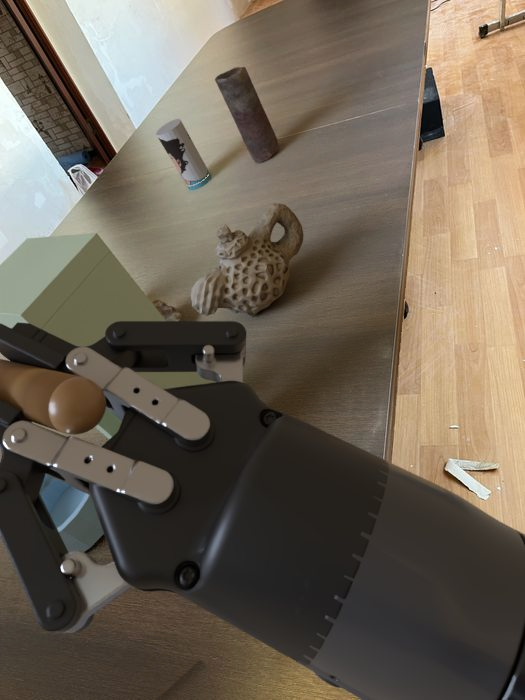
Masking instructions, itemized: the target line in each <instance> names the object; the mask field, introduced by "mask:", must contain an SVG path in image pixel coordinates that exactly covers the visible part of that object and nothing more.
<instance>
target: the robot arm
mask: <svg viewBox="0 0 525 700" xmlns="http://www.w3.org/2000/svg"><path fill="white" fill-rule="evenodd" d="M246 351H247V329H246V328H245V326H244V325H243V324H242V323H240V322H239V321H233V320H231V321H230V320H228V321H227V320H226V321H225V320H224V321H223V320H219V321H218V320H213V321H212V320H211V321H210V320H205V321H204V320H202V321H201V320H197V321H195V320H192V321H191V320H190V321H189V320H188V321H187V320H181V321H118V322H115V323H113V324H111V325H110V326H109V327H108V328H107V329H106V332H105V337H104V338H102V339H101V340H99V341H98V342H96V343H94V344H92V345H90V346H86V347H79V346H75V345H73V344H71V343H69V342H67V341H65V340H63V339H61V338H59V337H56V336H54V335H52V334H50V333H48V332H46V331H44V330H42V329H40V328H38V327H36V326H34V325H32V324H30V323H19V322H17V323H16V325H15V326H14V327H13V328H12V329H11V328H9V327H7V326H5V325H3V324H0V354H1V356H2V357H3V358H5V359H6V360H8V361H13V362H17V363H22V364H26V365H31V366H35V367H40V368H44V369H49V370H53V371H58V372H62V373H67V374H72V375H76V376H81V377H85V378H88V379H90V380H92V381H94V382H95V383H96V384H97V385H98V386H99V387H100V388H101V389H102V391H103V393H104V395H105V399H106V409H107V410H109V411H110V412H112V413H113V414H115V415H116V416H117V417H118V418H119V419H120V420H121V421H122V423H121V425H120V428H119V430H118V432H117V433H116V434H115V435H114V436H113V437H112V438H110V439H108V440H107V441H106V442H105V443H104V444H102V445H101V446H99V445H97V444H95V443H92V442H89V441H87V440H85V439H82V438H79V437H77V436H75V435H74V436H73V435H68V436H66V435H64V434H60V433H59V432H57V431H55V430H54V431H53V430H51V429H49V428H47V427H44V426H42V425H39V424H37V423H34V422H31V421H29V420H27V419H26V418H25V416H24V413H23V412H22V411H21V410H19V409H17V408H15V407H13V406H11V405H10V404H8V403H6V402H4V401H2V400H0V451H1V458H0V538H1V540H2V543H3V546H4V547H5V550H6V552H7V554H8V556H9V559H10V561H11V564H12V565H13V568H14V570H15V572H16V573H15V574H17V577H18V579H19V581H20V584H21V586H22V588H23V591H24V593H25V595H26V598H27V600H28V602H29V604H30V606H31V609H32V611H33V613H34V616H35V619H36V620H37V623H38V624H39V626H40V627H41V628H42V629H43V630H44V631H47V632H54V633H57V634H72V633H79V632H82V631H84V630H85V629H87V628H88V627H89V626H90V625H91V623H92V621H93V619H94V617H95V613H97V612H98V611H99V610H101V609H102V608H104V607H105V606H106V605H108V604H109V603H111V602H112V601H114V600H115V599H116V598H118V597H120V596H121V595H122V594H124V593H125V592H126V591H128V590H129V589H130V588H132V587H133V588H135V589H136V590H137V589H138V590H139V591H143V592H170V593H173V594H177V595H178V596H181V597H182V598H184V599H185V600H188V601H190V602H192V603H193V604H195V605H197V606H198V607H200V608H201V609H203V610H205V611H207V612H209V613H210V614H212V615H214V616H216V617H217V618H219V619H221V620H222V621H224V622H226V623H227V624H229V625H232V627H235V628H237V630H240V631H242V632H243V633H246V634H247V635H249V636H250V637H252V638H254V639H256V640H257V641H259V642H261V643H262V644H264V645H266V646H268V647H270V648H271V649H273V650H275V651H276V652H278V653H280V654H281V655H283V656H286V657H287V658H290V659H292V660H293V661H295V663H297V664H299V665H301V666H303V667H305V668H306V669H308V670H309V671H311V672H313V673H314V674H315V675H316V676H317V677H318V678H319V679H321V681H323V682H324V683H326V684H328V685H330V686H332V687H334V688H337V689H343V690H344V691H346V692H348V693H350V694H352V695H354V696H355V697H357V698H359V699H360V700H525V532H521V531H519V530H517V529H515V528H513V527H511V526H510V525H508V524H505V523H504V522H502V521H500V520H498V519H496V517H493V516H492V515H490V514H489V513H488V512H486V511H484V510H482V509H481V508H479V507H478V506H476V505H475V504H473V502H470V501H468V500H467V499H465V498H464V497H461V495H459V494H456V493H455V492H453V491H450V490H449V489H447V488H445V487H443V486H440V485H439V484H437V483H435V482H433V481H430V480H428V479H426V478H424V477H422V476H420V475H418V474H415V473H414V472H412V471H409V470H407V469H406V468H405V469H404V468H403V467H401V466H399V465H396V464H394V463H392V462H390V461H388V460H387V459H384V458H382V457H380V456H378V455H376V454H374V453H372V452H369V451H367V450H365V449H363V448H361V447H359V446H357V445H355V444H352V443H350V442H348V441H345V440H344V439H342V438H339V437H338V436H335V435H333V434H332V433H329V432H327V431H325V430H324V429H323V430H322V429H320V428H319V427H316V426H315V425H312V424H310V423H309V422H305V421H304V420H302V419H300V418H297V417H295V416H293V415H291V414H288V413H285V412H282V411H279V410H275V409H273V408H271V407H270V406H269V405H267V404H266V403H265V402H264V401H263V400H262V399H261V398H260V396H259V395H258V393H257V392H256V390H254V388H252V387H251V386H250V385H248V384H247V383H244V366H245V364H246V356H247V355H246V354H247V353H246ZM136 372H198V374H199V376H200V377H202V378H204V379H206V380H212V381H214V382H215V383H207V384H199V385H191V386H184V387H176V388H168V389H162V388H160V387H159V386H157V385H155V384H154V383H152V382H151V381H149V380H147V379H146V378H144V377H143V376H141V375H139V374H138V373H136ZM45 475H47V476H50V477H52V478H54V479H57V480H59V481H62V482H64V483H66V484H69V485H71V486H72V487H74V488H76V489H78V490H80V491H82V492H84V493H86V494H89V495H91V498H92V501H93V503H94V506H95V509H96V512H97V515H98V518H99V521H100V523H101V526H102V529H103V532H104V534H103V536H104V538H105V540H106V544H107V546H108V549H109V552H110V556H111V558H112V561H111V562H109V563H104V564H100V563H98V562H97V560H96V559H95V558H94V557H93V556H91V555H90V554H88V553H86V552H82V551H71V552H68V550H67V548H66V546H65V544H64V542H63V540H62V538H61V536H60V534H59V532H58V530H57V528H56V526H55V524H54V522H53V520H52V518H51V516H50V514H49V512H48V510H47V508H46V506H45V504H44V501H43V499H42V497H41V495H40V493H39V492H40V489H41V486H42V483H43V480H44V477H45Z"/></svg>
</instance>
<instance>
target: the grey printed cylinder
mask: <svg viewBox="0 0 525 700" xmlns="http://www.w3.org/2000/svg"><path fill="white" fill-rule="evenodd" d="M155 135H156V137H157V139H158V140H159V142H160V143H161V145H162V147H163V148H164V151H165V152H166V154H167V155H168V157H169V159H170V160H171V162H172V164H173V165H174V167H175V169H176V170H177V172H178V173H179V175H180V177H181V179H182V180H183V183H184V184H185V185H186V184H187V185H193V184H196V183H198V182H201V181H202V180H203V179H205V177H207V175H208V174H209V176H208V177H207V178H206V179H205V180H204V181H202V182H201V183H199V184H197V185H195V186H191V187H188V186H187V185H186V188H187V189H188V190H189V191H193V190H199V189H200V188H202V187H204V186H205V185H206V184H207V183H208V182H210V181H211V179H212V174H211V172H210V171H209V169H208V167H207V165H206V163H205V161H204V160H203V158H202V156H201V155H200V153H199V151H198V148H197V147H196V145H195V144H194V141H193V140H192V138H191V136H190V134H189V132H188V131H187V128H186V127H185V125H184V123H183V122H182V120H181V118H175V119H173V120H170V121H168V122H167V123H165V124H163V125H162V126H161V127H160V128H158V130H156V133H155Z"/></svg>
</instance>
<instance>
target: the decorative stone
mask: <svg viewBox="0 0 525 700" xmlns="http://www.w3.org/2000/svg"><path fill="white" fill-rule="evenodd" d="M151 302H152V303H153V305H154V306H155V307H156V309H157V310H158V311H159V312H160V314H161V315H162V316H163V317H164V319H165V320H166V321H182V314H181V312H180V311H178V309H176V307H174V306H172V305H168V304H167V303H165V302H164V301H162V300H161V299H154V300H152V301H151Z"/></svg>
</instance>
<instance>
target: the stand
mask: <svg viewBox="0 0 525 700" xmlns="http://www.w3.org/2000/svg"><path fill="white" fill-rule="evenodd" d="M118 321H166V320H165V319H164V317H163V316H162V315H161V314H160V312H159V311H158V310H157V309H156V307H155V306H154V305H153V303H152V301H151V299H150V298H149V297H148V296H147V295H146V294H145V292H144V291H143V290H142V288H141V287H140V285H138V283H137V282H136V280H135V279H134V278H133V277H132V275H131V274H130V273H129V272H128V271H127V269H126V268H125V267H124V265H123V264H122V263H121V262H120V260H119V259H118V258H117V256H116V255H115V254H114V253H113V252H112V250H111V249H110V248H109V246H108V245H107V244H106V243H105V241H104V240H103V239H102V238H101V236H100V235H99V234H98V233H97V232H91V233H78V234H67V235H64V234H63V235H53V236H41V237H40V236H39V237H28V238H26V239H25V240H24V241H23V242H22V243H21V244H19V246H18V247H17V248H15V250H14V251H13V252H12V253H11V254H9V256H7V257H6V259H4V261H2V262H1V263H0V324H3V325H5V326H7V327H9V328H11V329H12V328H13V327H14V326H15V325H16V323H17V322H19V323H30V324H32V325H34V326H36V327H38V328H40V329H42V330H44V331H46V332H48V333H50V334H52V335H54V336H56V337H59V338H61V339H63V340H65V341H67V342H69V343H71V344H73V345H75V346H79V347H86V346H90V345H92V344H94V343H96V342H98V341H99V340H101V339H102V338H104V337H105V332H106V329H107V328H108V327H109V326H110V325H111V324H113V323H115V322H118ZM136 373H138V374H139V375H141V376H143V377H144V378H146V379H147V380H149V381H151V382H152V383H154V384H155V385H157V386H159V387H160V388H162V389H168V388H176V387H184V386H191V385H199V384H207V383H215V381H212V380H206V379H204V378H202V377H200V376H199V374H198V372H136ZM121 423H122V421H121V420H120V419H119V418H118V417H117V416H116V415H115V414H113V413H112V412H110V411H109V410H107V409H106V410H105V413H104V416H103V418H102V420H101V421H100V422H99V424H98V425H97V426H96V427H94V428H95V429H97V430H98V431H99V432H100V433H101V434H102V435H103V436H105V437H106V439H108V440H109V439H110V438H112V437H113V436H114V435H115V434H116V433H117V432H118V430H119V428H120V425H121Z"/></svg>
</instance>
